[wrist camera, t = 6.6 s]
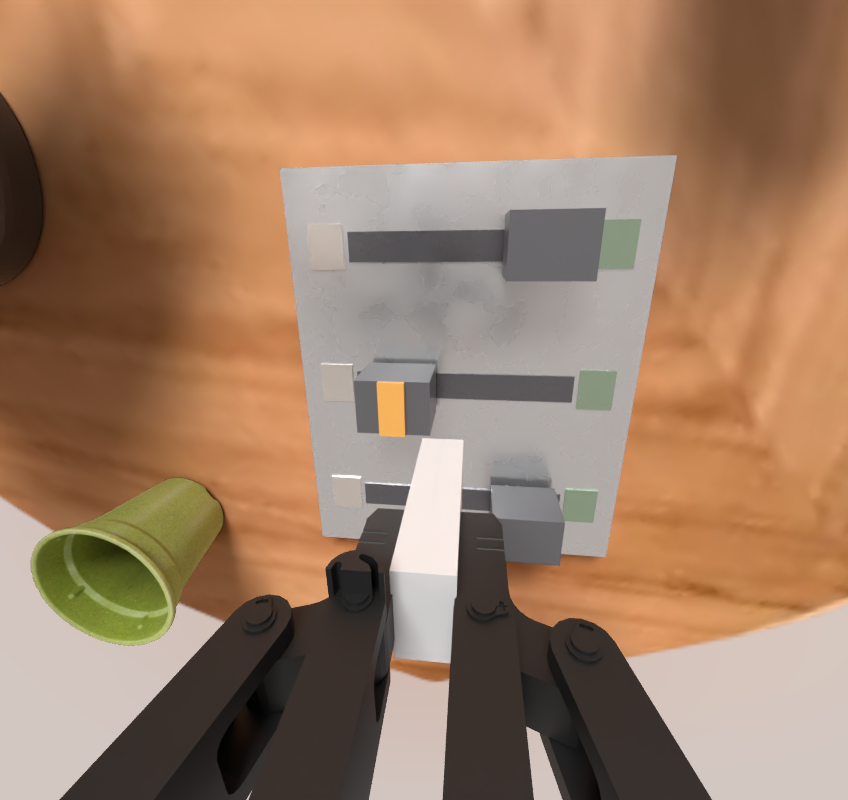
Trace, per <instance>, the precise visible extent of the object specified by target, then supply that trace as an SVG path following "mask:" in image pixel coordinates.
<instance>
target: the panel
mask: <svg viewBox="0 0 848 800" xmlns="http://www.w3.org/2000/svg"><path fill="white" fill-rule="evenodd" d="M676 160H677V155H663V156H633V157H603V158H573V159H543V160H513V161H483V162H453V163H423V164H393V165H363V166H333V167H303V168H280V176H281V184H282V193H283V201H284V210H285V218H286V227H287V235H288V244H289V252H290V261H291V269H292V278H293V286H294V295H295V304H296V312H297V321H298V329H299V338H300V346H301V355H302V363H303V372H304V380H305V389H306V397H307V406H308V414H309V423H310V431H311V440H312V448H313V457H314V466H315V474H316V483H317V491H318V500H319V508H320V517H321V525H322V534H323V536H326V537H339V538H353V539H360V537H361V534H362V533H363V529H364V526H365V523H366V521H367V518H368V517H369V516H370V515H371V514H372V513H373V512H374V511H376V510H377V509H378V508H384V509H401V510H405V506H406V502H407V498H408V494H409V490H410V486H411V482H412V478H413V474H414V470H415V466H416V462H417V458H418V454H419V450H420V446H421V442H422V438H431V439H456V440H464V441H463V479H462V512H473V513H489V511H490V492H491V485H503V486H521V487H539V488H555V491H556V495H557V498H558V501H559V504H560V508H561V511H562V514H563V517H564V521H565V528H564V535H563V543H562V551H561V554H569V555H583V556H596V557H606V553H607V547H608V541H609V536H610V530H611V525H612V519H613V513H614V508H615V502H616V496H617V491H618V485H619V480H620V474H621V468H622V463H623V457H624V452H625V446H626V440H627V435H628V429H629V424H630V418H631V412H632V407H633V401H634V395H635V390H636V384H637V379H638V373H639V367H640V362H641V356H642V351H643V345H644V339H645V334H646V328H647V322H648V317H649V311H650V306H651V300H652V294H653V289H654V283H655V278H656V272H657V266H658V261H659V255H660V250H661V244H662V238H663V233H664V227H665V221H666V216H667V210H668V205H669V199H670V193H671V188H672V182H673V177H674V171H675V165H676ZM578 208H606V214H605V222H604V229H603V237H602V245H601V252H600V260H599V267H598V275H597V281H505V279H504V278H503V276H502V267H503V248H504V229H505V214H506V213H507V212H508V211H509V210H527V209H578ZM369 363H412V364H436V413H435V417H434V421H433V425H432V429H431V433H430V436H422V435H406V436H405V437H389V436H379V434H376V433H357V422H356V409H355V395H354V381H353V380H354V379H355V378H356V377H357V376H358V375H359V374H360V373H361V372H362V370H363V369H364V368H365V367H366V366H367V365H368V364H369Z"/></svg>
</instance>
